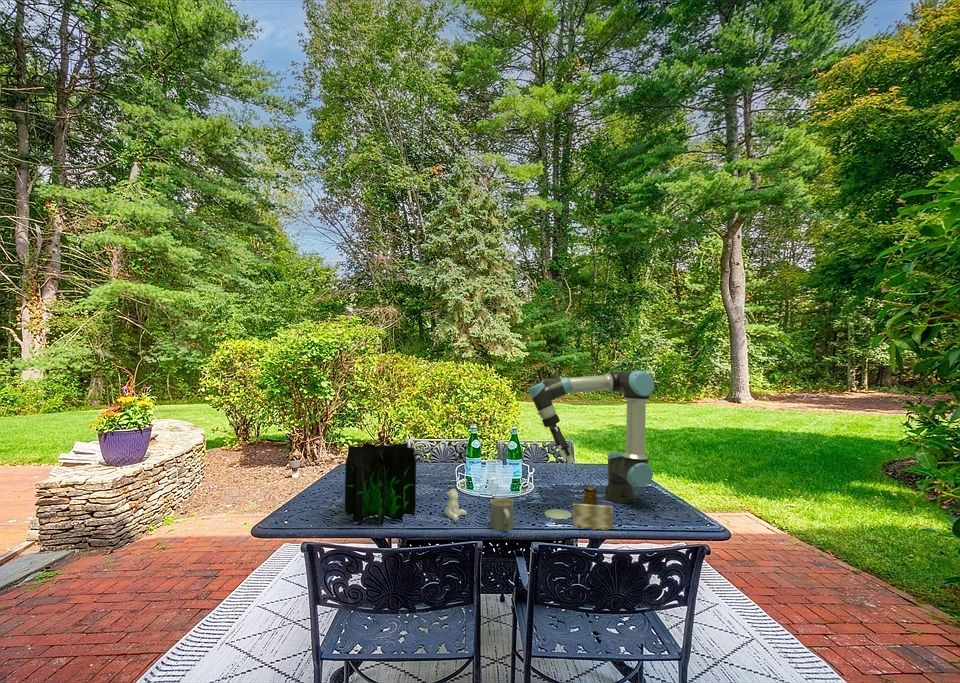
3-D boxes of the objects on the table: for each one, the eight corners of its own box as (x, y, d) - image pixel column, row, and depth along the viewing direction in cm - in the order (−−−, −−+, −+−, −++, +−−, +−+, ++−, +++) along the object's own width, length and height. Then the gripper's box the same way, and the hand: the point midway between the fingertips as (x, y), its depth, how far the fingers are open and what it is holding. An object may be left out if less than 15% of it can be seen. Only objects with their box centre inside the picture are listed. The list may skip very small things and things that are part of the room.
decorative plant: (358, 532, 175) (359, 456, 176) (339, 510, 200) (340, 444, 201) (423, 518, 190) (424, 449, 192) (398, 500, 215) (399, 439, 217)
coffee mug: (489, 521, 186) (489, 498, 187) (512, 521, 187) (512, 497, 187) (491, 534, 173) (491, 508, 173) (516, 533, 173) (516, 508, 174)
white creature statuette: (456, 521, 186) (456, 493, 187) (439, 518, 191) (440, 490, 191) (467, 515, 195) (467, 488, 195) (451, 511, 199) (451, 485, 199)
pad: (555, 508, 204) (555, 507, 204) (577, 515, 195) (577, 514, 195) (539, 514, 196) (539, 513, 196) (561, 521, 187) (561, 520, 187)
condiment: (587, 511, 200) (587, 485, 200) (604, 516, 194) (604, 489, 194) (579, 515, 194) (579, 488, 195) (596, 520, 188) (596, 492, 189)
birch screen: (573, 527, 180) (572, 505, 181) (573, 524, 184) (572, 502, 184) (613, 530, 177) (612, 508, 177) (612, 527, 181) (612, 505, 181)
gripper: (538, 418, 210) (556, 459, 207) (545, 421, 185) (566, 468, 183) (552, 412, 210) (570, 453, 208) (561, 414, 186) (582, 461, 183)
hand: (568, 460), depth 195 cm, fingers open, 13 cm apart
